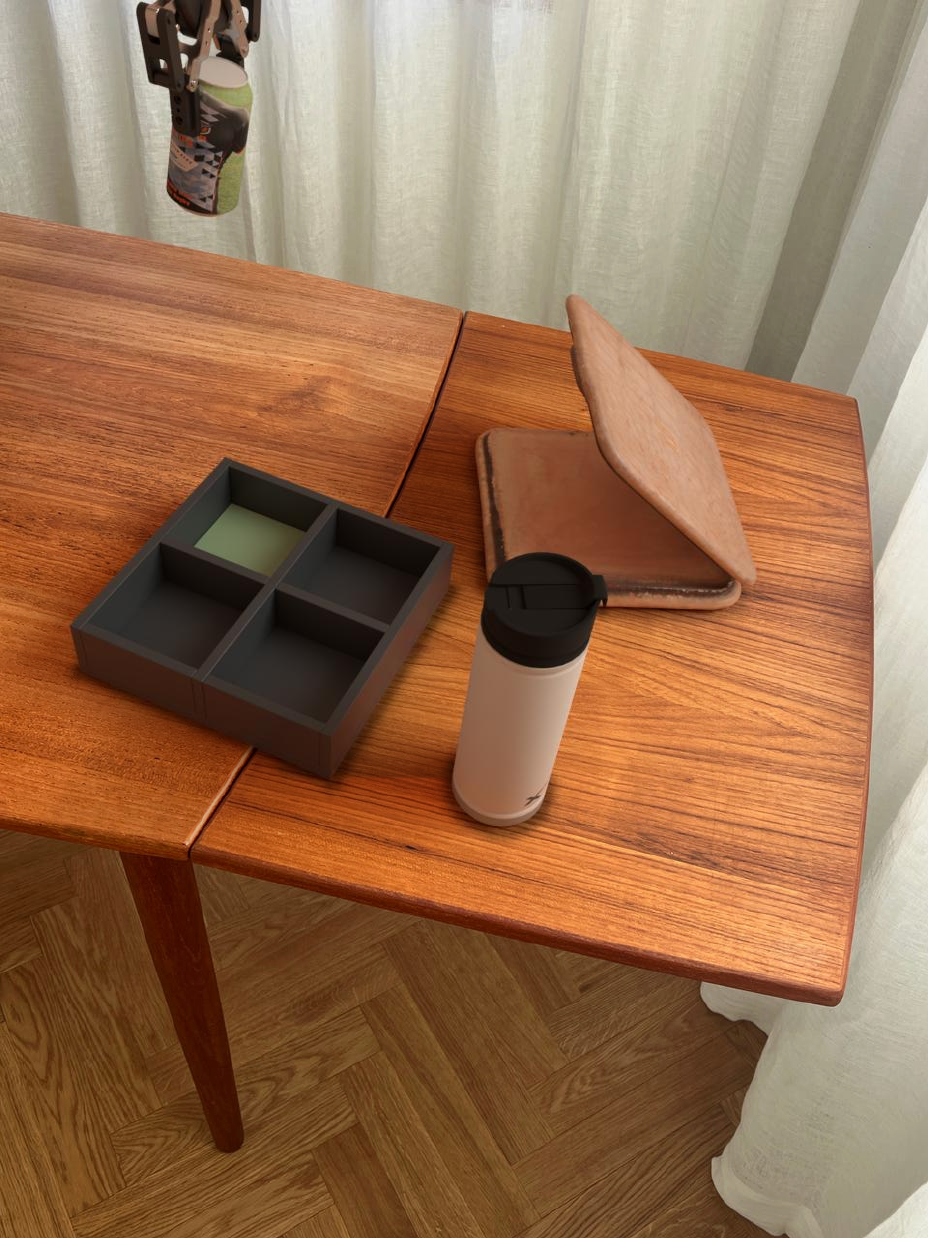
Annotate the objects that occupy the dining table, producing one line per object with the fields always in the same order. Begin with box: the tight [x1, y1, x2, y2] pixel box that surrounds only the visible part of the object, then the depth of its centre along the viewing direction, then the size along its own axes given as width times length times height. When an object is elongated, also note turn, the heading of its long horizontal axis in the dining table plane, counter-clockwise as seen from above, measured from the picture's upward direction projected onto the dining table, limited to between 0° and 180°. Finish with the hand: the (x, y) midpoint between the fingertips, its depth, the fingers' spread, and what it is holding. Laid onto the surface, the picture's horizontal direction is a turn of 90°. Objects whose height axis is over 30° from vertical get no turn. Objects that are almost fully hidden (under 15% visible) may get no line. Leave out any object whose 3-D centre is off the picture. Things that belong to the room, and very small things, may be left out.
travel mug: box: [451, 552, 608, 828], centre depth 67 cm, size 6×7×20 cm
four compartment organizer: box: [69, 456, 456, 781], centre depth 79 cm, size 19×19×5 cm
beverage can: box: [165, 55, 254, 218], centre depth 92 cm, size 6×7×12 cm
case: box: [474, 293, 757, 611], centre depth 86 cm, size 20×21×16 cm
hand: (210, 116), depth 90 cm, fingers closed on beverage can, 6 cm apart
